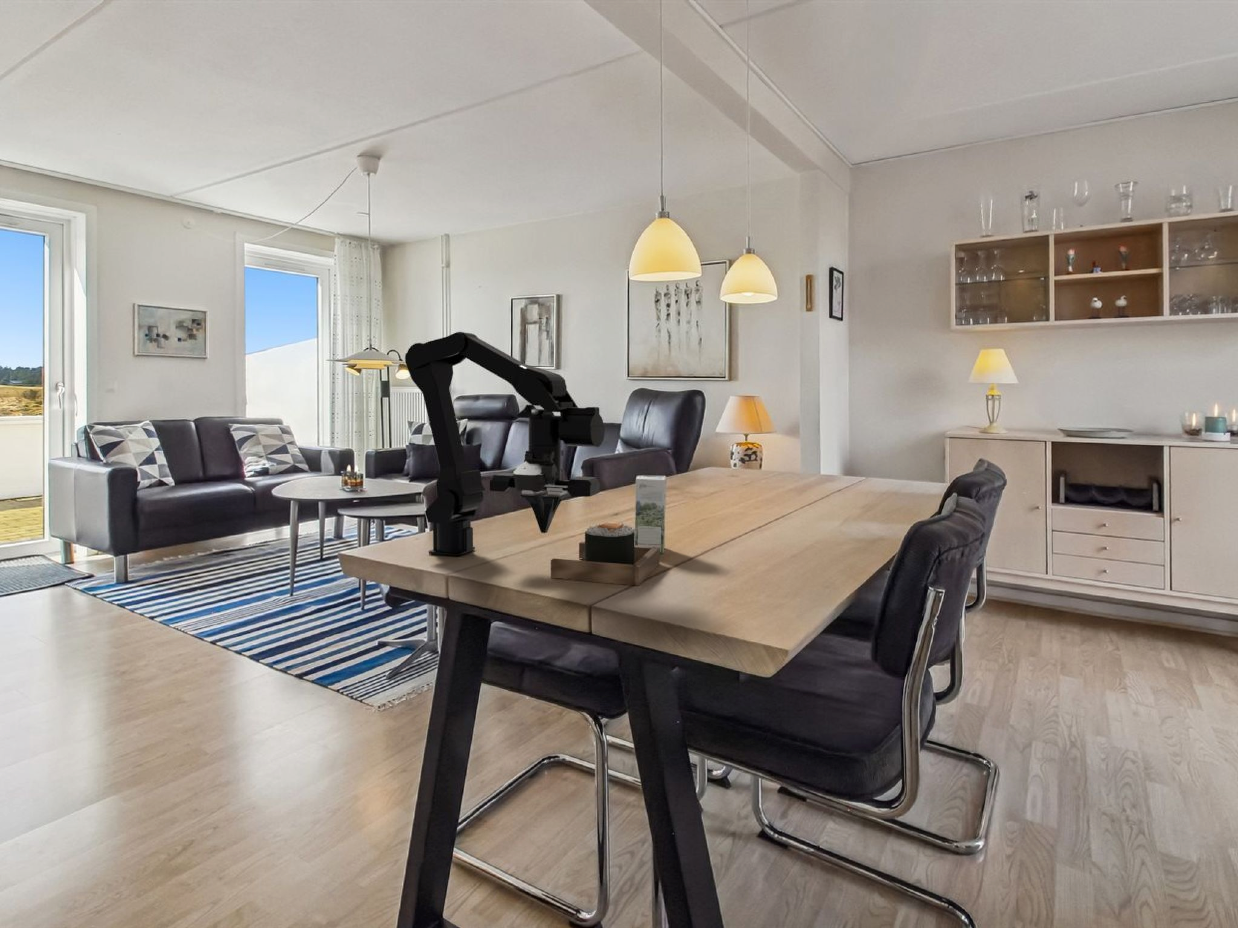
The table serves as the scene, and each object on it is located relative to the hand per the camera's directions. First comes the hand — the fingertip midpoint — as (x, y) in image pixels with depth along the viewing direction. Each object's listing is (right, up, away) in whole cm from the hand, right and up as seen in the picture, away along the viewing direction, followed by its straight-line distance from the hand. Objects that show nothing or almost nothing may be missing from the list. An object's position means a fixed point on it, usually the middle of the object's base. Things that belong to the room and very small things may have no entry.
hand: (544, 532), depth 124 cm
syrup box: (+19, -5, +12) cm, 23 cm away
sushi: (+12, -6, -4) cm, 14 cm away
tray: (+12, -6, -4) cm, 14 cm away
